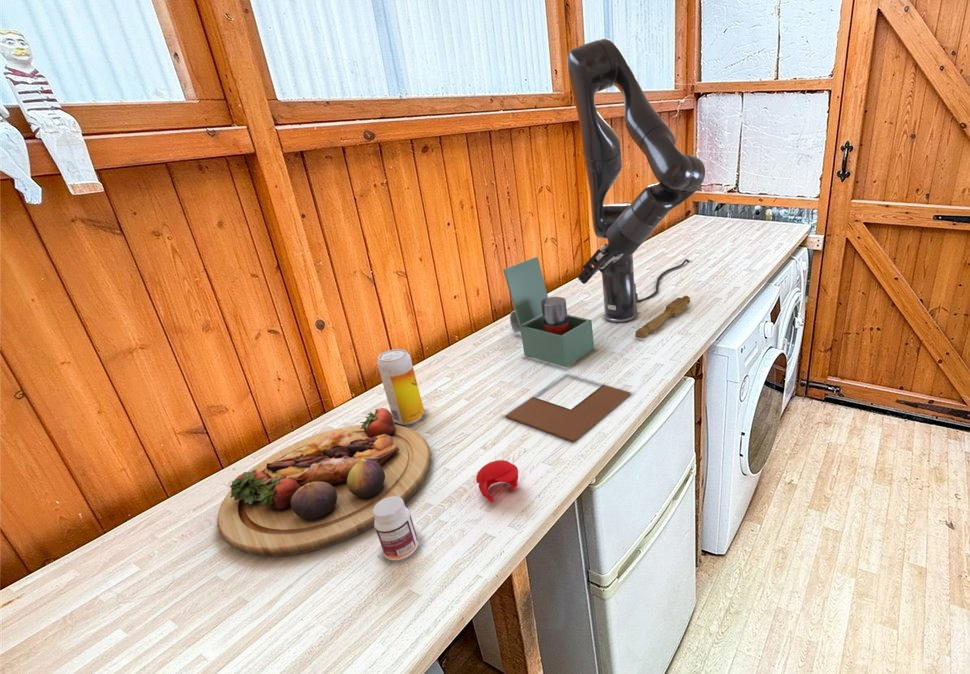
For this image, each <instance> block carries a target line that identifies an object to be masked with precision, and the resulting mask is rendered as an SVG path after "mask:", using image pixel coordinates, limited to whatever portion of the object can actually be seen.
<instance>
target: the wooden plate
mask: <svg viewBox="0 0 970 674" xmlns="http://www.w3.org/2000/svg"><path fill="white" fill-rule="evenodd" d="M365 418H366V419H365V421H360V422H359V423H360V424H355V425H348V426H344V427H339V428H334V429H331V430H327V431H323V432H321V433H317V434H315V435H311V436H309V437H306V438H304V439H301V440H299V441H296V442H294V443H292V444H290V445H289V446H286V447H284V448H282V449H280V450H278V451H277V452H275V453H272V454H271V455H270V456H269V457H267V458H265V459H263V460H262V461H260V462H259V463H257V464H256V465H255V466H254V467H252V468H251V469H250V470H248V471H244V472H243V473H240V474H239V475H238V476H237V477H236V478H234V480H232V482H231V484H230V485H229V487H230V489H229V491H227V494H226V495H225V497H224V499H223V500H222V502H221V504H220V506H219V510H218V513H217V514H218V515H217V518H216V519H217V529H218V532H219V534H220V536H221V538H222V539H223V540H224V541H225V542H226V543H227V544H228V545H229V546H231V547H232V548H233V549H235V550H238V551H240V552H242V553H246V554H249V555H253V556H259V557H281V556H282V557H283V556H292V555H299V554H305V553H308V552H312V551H317V550H321V549H324V548H326V547H330V546H333V545H336V544H338V543H340V542H343V541H346V540H348V539H350V538H352V537H355V536H357V535H359V534H361V533H363V532H365V531H366V530H368V529H370V528H372V527H374V521H375V518H374V514H373V508H374V506H375V505H376V504H377V503H378V502H379V501H381V500H383V499H385V498H387V497H391V496H397V497H400V498H402V499H403V502H404V504H406V502H407V501H408V500H409V499H410V498H411V497H412V496H414V494H415V493H416V492H417V491H418V489H419V488H420V487H421V486H422V484H423V482H424V481H425V478H426V477H427V474H428V472H429V469H430V466H431V460H432V454H431V453H432V452H431V449H430V446H429V444H428V442H427V441H426V439H425V438H424V437H423V436H422V435H421V434H420V433H418V432H417V431H415V430H414V429H411V428H409V427H406V426H404V425H401V424H394V420H393V417H392V414H391V411H390V410H389V409H388V408H385V407H380V408H375V410H374V413H373V412H371V411H369V413H367V416H365Z"/></svg>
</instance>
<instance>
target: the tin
mask: <svg viewBox="0 0 970 674" xmlns="http://www.w3.org/2000/svg"><path fill="white" fill-rule="evenodd" d="M541 305H542V313H543V321H544V330H545V331H546V332H550V333H554V334H558V335H563V334H565V333H567V332H568V331H569V324H568V317H567V315H568V308H567V301H566V298H565V297H561V296H551V297H549V296H548V298H546V299H544V300H542V301H541Z"/></svg>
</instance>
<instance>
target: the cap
mask: <svg viewBox="0 0 970 674" xmlns="http://www.w3.org/2000/svg"><path fill="white" fill-rule="evenodd" d="M518 480H519V470H518V467H517V465H515V464H514V463H512V462H510V461H508V460H503V459H497V460H494V461H490V462H489V463H486V464H485V465H483V466H482V467H481V468H480V469H479V470H478V471H477V473H476V476H475V481H476V483H477V484H478V489H479V491H480V494H481V495H482V496H483V497H485V498H486V499H487V500H488V501H489V502H490V503H492V504H493V503H494V502H495V499H494V497H492V495H491V494H490V493H488V490H489V488H490V487H491V486H492V485H494V484H497V483H505V484H508V485H510V486H509V489H510V491H515V489H516V488H517V487H518V482H519V481H518Z"/></svg>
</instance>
